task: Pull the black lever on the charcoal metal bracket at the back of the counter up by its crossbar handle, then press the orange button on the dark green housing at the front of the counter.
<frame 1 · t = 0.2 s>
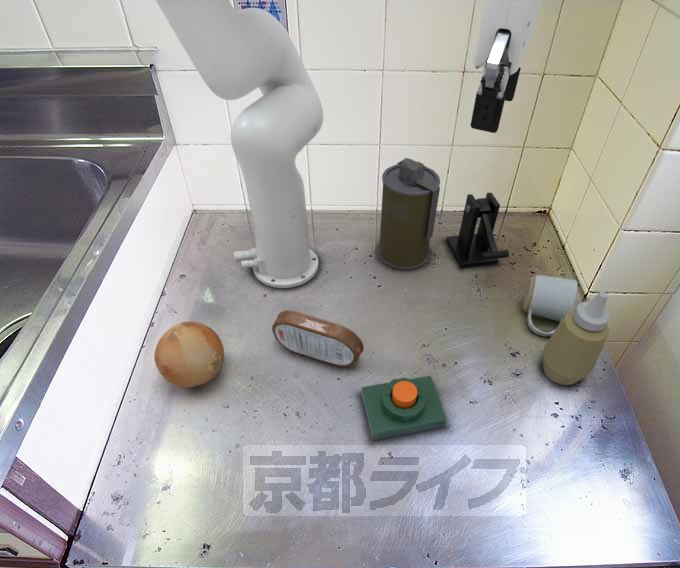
hand: (492, 113, 58), 37 cm above the table, tool pointing down, fingers open, 9 cm apart
onion: (198, 374, 75), on the table
bracket: (470, 252, 99), on the table
button: (404, 394, 69), point 4 cm above the table, slide at 0.1 cm
canister: (403, 254, 97), on the table
button box: (402, 410, 72), on the table
squeeze bottle: (560, 372, 79), on the table
lever: (487, 229, 89), point 9 cm above the table, hinge at -25.0°
ceramic mug: (544, 317, 87), on the table
tin: (318, 356, 78), on the table
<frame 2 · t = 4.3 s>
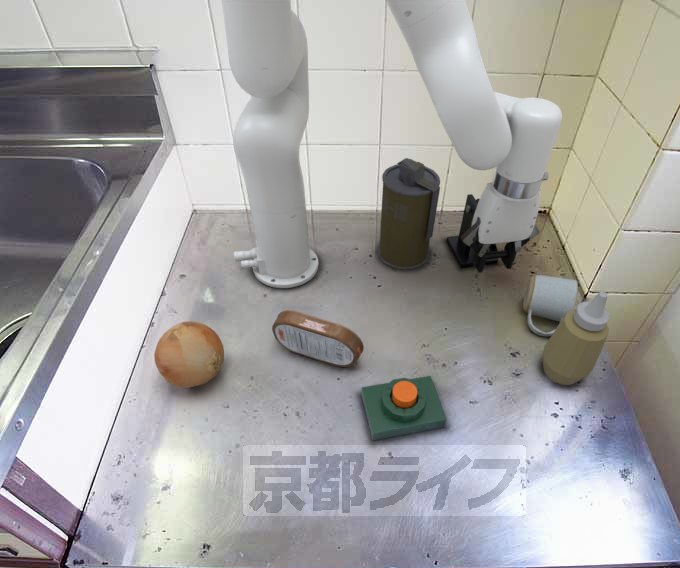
hand: (491, 265, 90), 4 cm above the table, tool pointing down, fingers closed on lever, 5 cm apart
lever: (487, 229, 89), point 9 cm above the table, hinge at -25.0°, touching gripper
everything else where it was.
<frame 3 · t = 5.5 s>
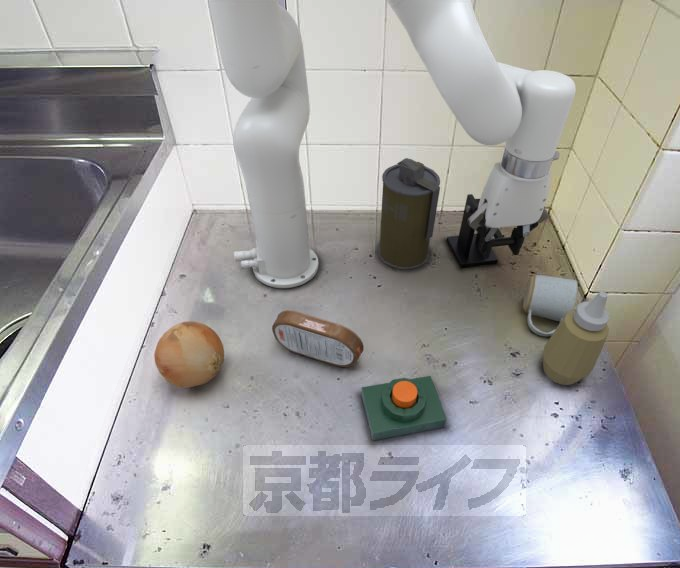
hand: (498, 251, 86), 8 cm above the table, tool pointing down, fingers closed on lever, 5 cm apart
lever: (490, 223, 88), point 11 cm above the table, hinge at -2.5°, touching gripper
everything else where it was.
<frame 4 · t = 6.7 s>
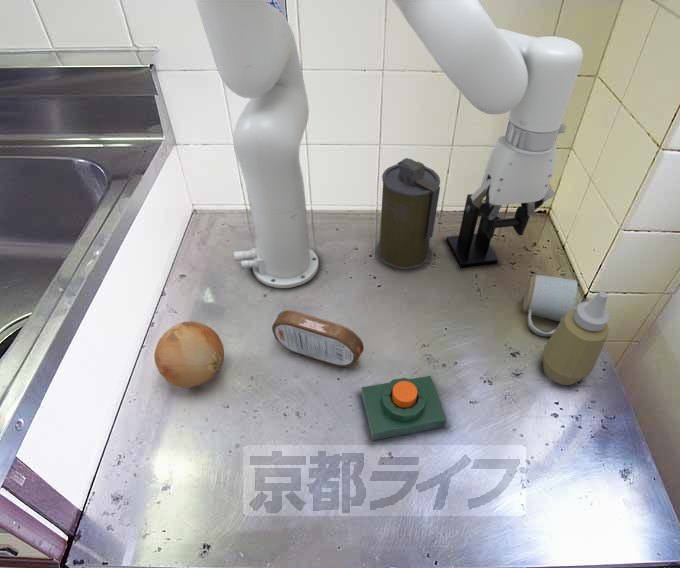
hand: (502, 231, 83), 12 cm above the table, tool pointing down, fingers closed on lever, 5 cm apart
lever: (492, 214, 86), point 13 cm above the table, hinge at 19.2°, touching gripper
everything else where it was.
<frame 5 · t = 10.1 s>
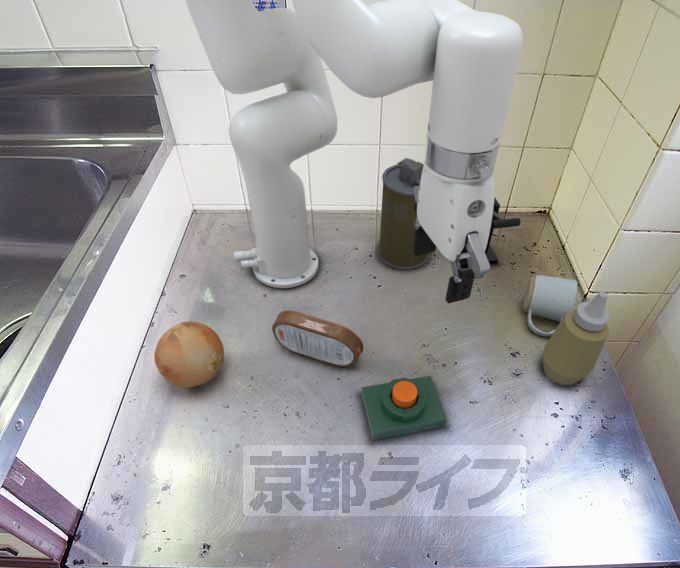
hand: (439, 275, 62), 21 cm above the table, tool pointing down, fingers open, 9 cm apart
lever: (492, 214, 86), point 13 cm above the table, hinge at 18.8°
everything else where it was.
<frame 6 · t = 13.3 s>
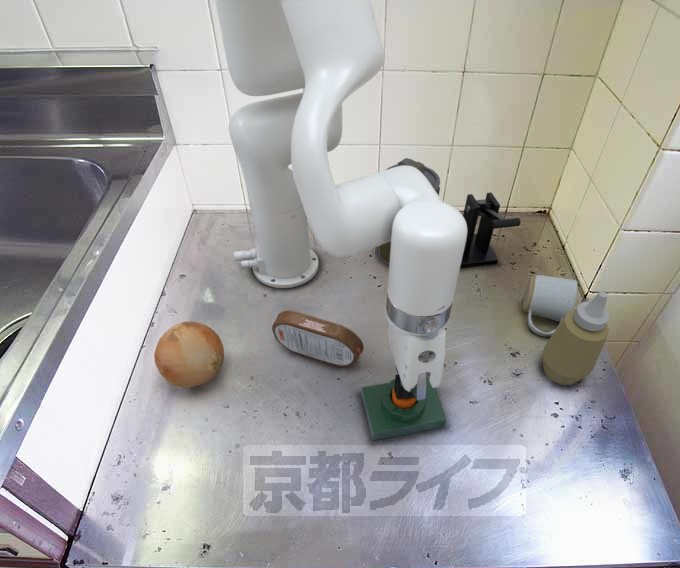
hand: (405, 393, 68), 5 cm above the table, tool pointing down, fingers closed
button: (404, 395, 69), point 4 cm above the table, slide at -0.2 cm, touching gripper
everything else where it was.
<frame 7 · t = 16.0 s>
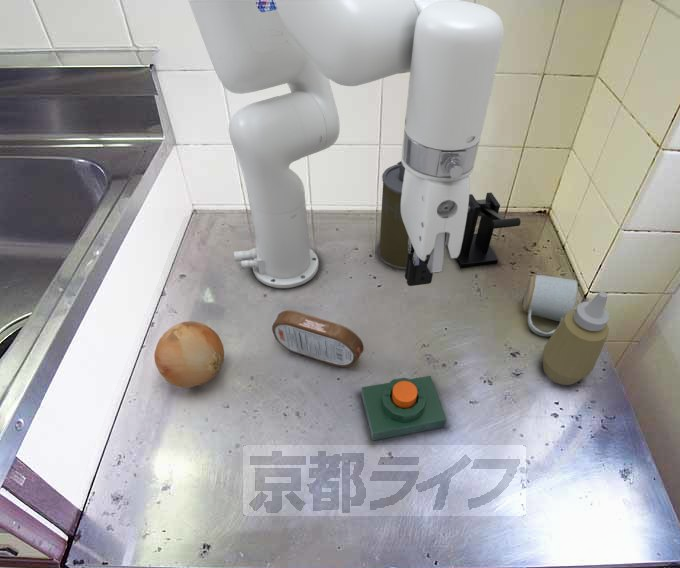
hand: (417, 280, 61), 21 cm above the table, tool pointing down, fingers closed
button: (404, 394, 69), point 4 cm above the table, slide at 0.1 cm
everything else where it was.
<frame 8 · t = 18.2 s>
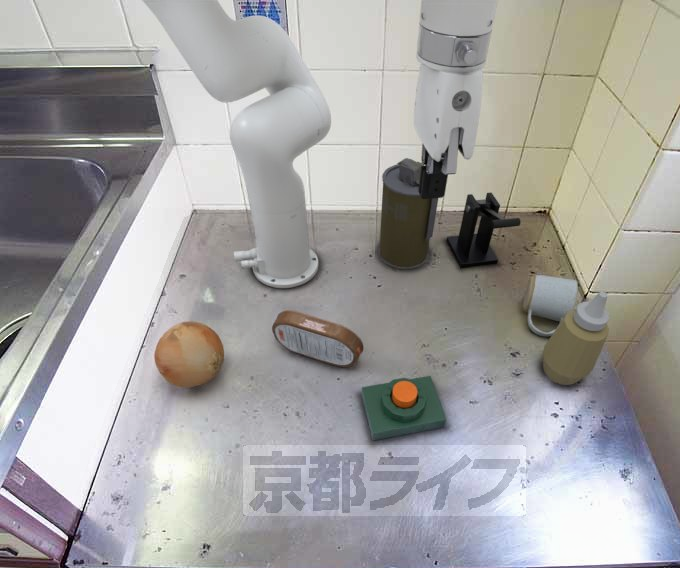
hand: (430, 194, 63), 27 cm above the table, tool pointing down, fingers closed
nothing on the table moved.
at the end: lever at +19° (first picture: -25°); button pushed in 1.1 cm at the most during the clip, back to where it started at the end; button slide at 0.1 cm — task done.
